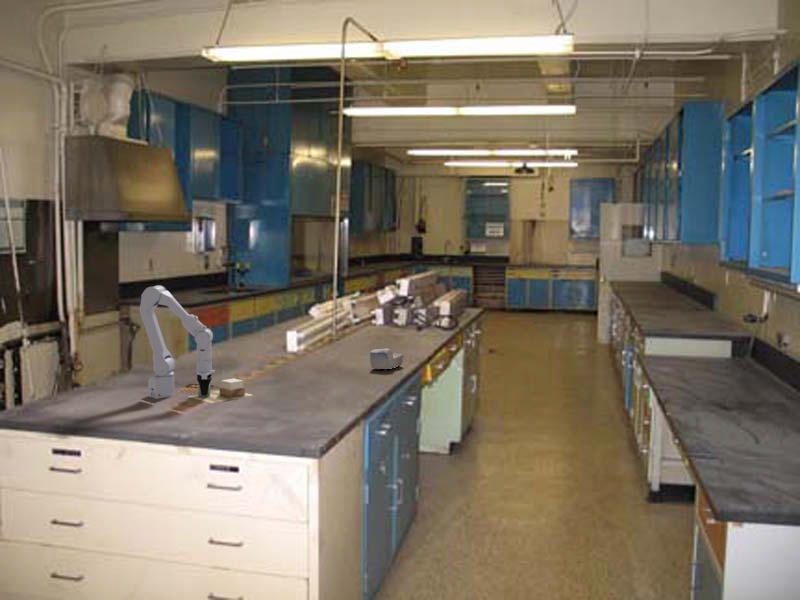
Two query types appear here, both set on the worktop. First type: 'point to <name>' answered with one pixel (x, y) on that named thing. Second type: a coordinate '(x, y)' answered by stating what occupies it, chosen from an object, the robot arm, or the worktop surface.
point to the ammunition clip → (191, 388)
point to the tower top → (231, 384)
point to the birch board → (216, 397)
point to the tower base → (232, 392)
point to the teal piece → (203, 395)
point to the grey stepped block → (385, 359)
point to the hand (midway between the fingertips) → (204, 393)
